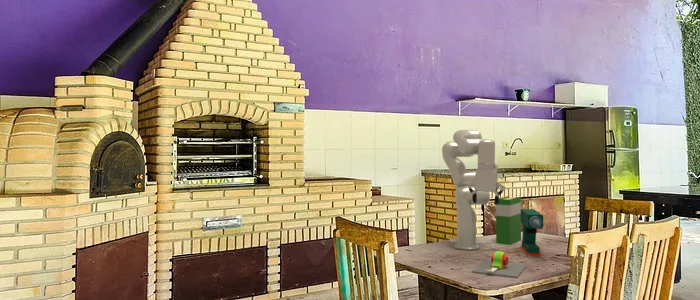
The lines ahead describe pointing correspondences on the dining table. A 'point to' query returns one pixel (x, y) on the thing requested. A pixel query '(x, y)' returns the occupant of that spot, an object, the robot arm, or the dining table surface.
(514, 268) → the mat
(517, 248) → the dining table surface
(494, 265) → the toy measuring tape
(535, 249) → the power tool
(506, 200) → the hardback book
